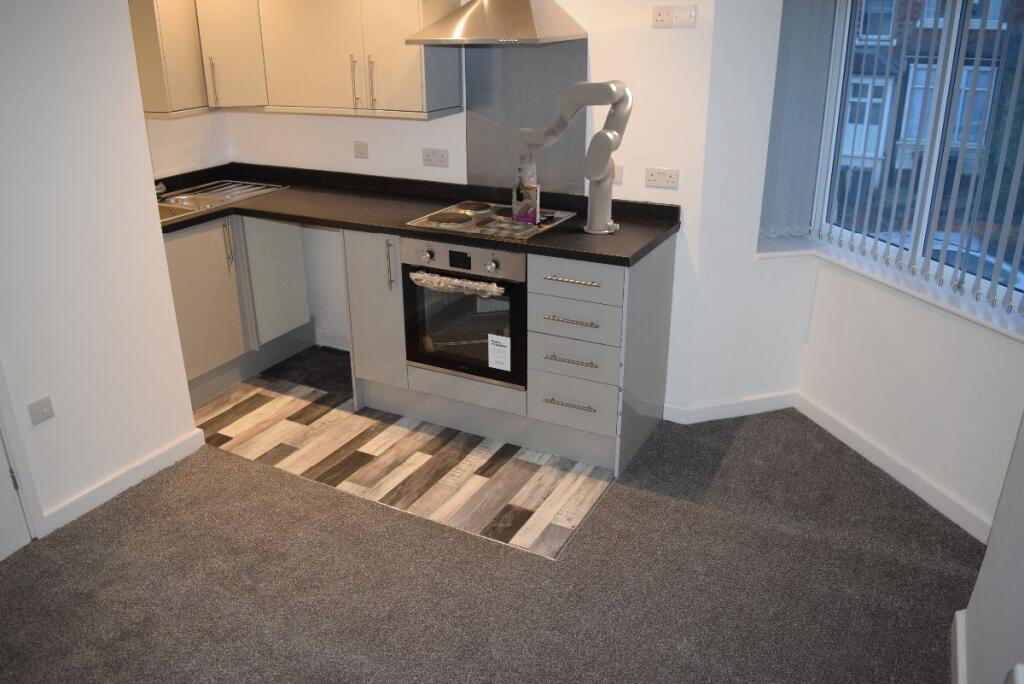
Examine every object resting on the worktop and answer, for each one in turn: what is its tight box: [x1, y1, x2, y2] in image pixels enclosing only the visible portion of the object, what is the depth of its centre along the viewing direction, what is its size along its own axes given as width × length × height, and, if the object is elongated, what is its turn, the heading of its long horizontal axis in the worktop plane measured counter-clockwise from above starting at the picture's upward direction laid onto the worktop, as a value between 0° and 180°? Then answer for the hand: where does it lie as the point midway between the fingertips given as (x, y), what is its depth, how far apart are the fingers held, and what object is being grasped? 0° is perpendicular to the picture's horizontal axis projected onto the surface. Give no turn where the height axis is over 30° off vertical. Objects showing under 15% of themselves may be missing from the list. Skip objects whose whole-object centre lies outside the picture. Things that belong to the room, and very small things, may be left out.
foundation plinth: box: [479, 218, 539, 240], centre depth 338 cm, size 18×17×3 cm
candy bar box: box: [511, 184, 541, 225], centre depth 350 cm, size 11×5×16 cm, turn 74°
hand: (525, 199), depth 349 cm, fingers open, 9 cm apart
